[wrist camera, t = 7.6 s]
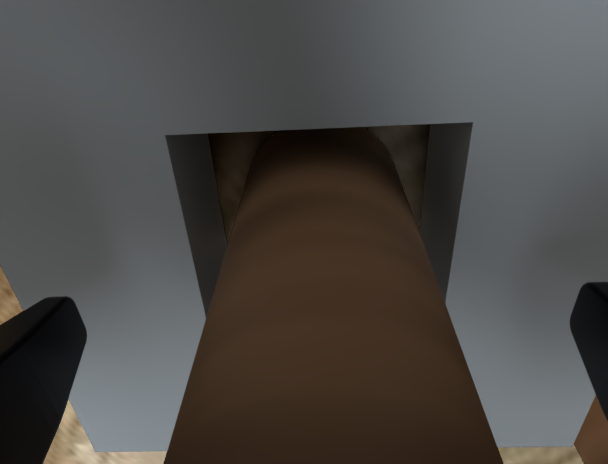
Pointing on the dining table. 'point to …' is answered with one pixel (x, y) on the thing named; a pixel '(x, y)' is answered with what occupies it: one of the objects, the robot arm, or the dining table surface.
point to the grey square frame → (295, 116)
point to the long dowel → (328, 324)
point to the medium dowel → (593, 436)
